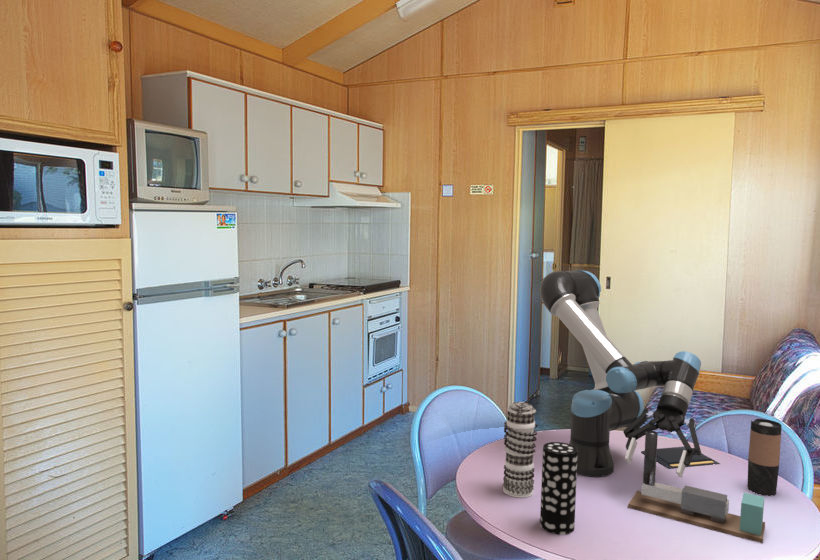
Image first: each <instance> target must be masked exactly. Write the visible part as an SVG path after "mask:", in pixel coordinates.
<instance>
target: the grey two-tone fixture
mask: <svg viewBox="0 0 820 560" xmlns="http://www.w3.org/2000/svg"><path fill="white" fill-rule="evenodd" d="M658 435H659V434H658V432H657V431H656V430H653V431H646V435H644V436H645V438H644V451H645V454H643V456H644V457H643V458H644V459H643V472H642V473H643V474H642V475H643V476H642V477H643V479H642V483H641V494H642V495H646V496H650V497H654V498H658V499H662V500H666V501H670V502H674V503H678V504H681V498H682V490H683V488H681V487H676V486H673V485H668V484H665V483H660V482H656V472H657V462H656V456H657V449H658ZM729 506H730V499H728V498H727V500H726V504H725V515H726V516H727V514H728V513H729V510H730V509H729Z"/></svg>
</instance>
